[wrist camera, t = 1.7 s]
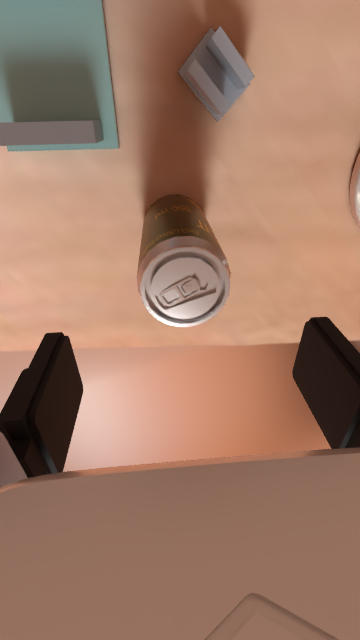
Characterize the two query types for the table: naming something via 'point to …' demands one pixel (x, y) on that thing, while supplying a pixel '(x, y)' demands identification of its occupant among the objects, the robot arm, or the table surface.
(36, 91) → the end holder
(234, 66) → the clip
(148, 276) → the beer can
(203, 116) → the table surface
